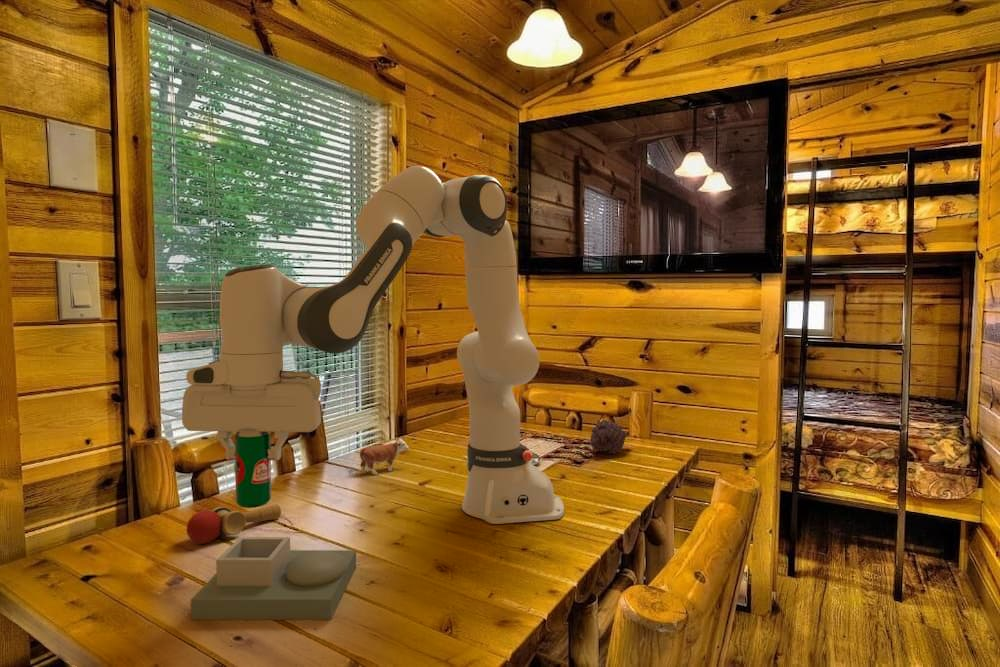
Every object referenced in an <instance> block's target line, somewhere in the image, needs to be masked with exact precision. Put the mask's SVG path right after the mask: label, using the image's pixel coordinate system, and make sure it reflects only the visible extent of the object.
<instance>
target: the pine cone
mask: <svg viewBox="0 0 1000 667" xmlns="http://www.w3.org/2000/svg"><path fill="white" fill-rule="evenodd" d="M629 435H630V431H627V430H623V428H622V427H621V426H620V425H618V423H616V422H613V421H612V420H606V419H604V420H602V421H601V422H599V421H598V422H596V424H595V427H593V428H592V429H591V434H590V438H589V440H590V441H589V443H590V445H591V447H592V448H593V450H596V451H599V452H605V453H608V454H616V453H617V452H618V453H620V452H621V451H622V449H623V447H624V445H625V440H626V438H627V437H629Z"/></svg>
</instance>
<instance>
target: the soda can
mask: <svg viewBox="0 0 1000 667" xmlns="http://www.w3.org/2000/svg"><path fill="white" fill-rule="evenodd" d="M271 436H272V432H259V431H258V430H239V431H236V433H235V435H234V443H235V444H234V445H235V460H234V461H235V462H234V463H235V464H234V467H235V473H234V474H235V503H236V504H237V505H238V506H239V507H240V508H245V509H253V508H259V507H263V506H265V505H267V504H268V503H269V502H270V501H271V498H272V460H268V449H269V448H270V447H272V446H271V445H272V444H271V443H272V441H271V439H272V438H271Z"/></svg>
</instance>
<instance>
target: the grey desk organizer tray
mask: <svg viewBox="0 0 1000 667" xmlns="http://www.w3.org/2000/svg"><path fill="white" fill-rule="evenodd" d="M215 562H216V564H215V566H216V570H215V571H216V573H215V574H214V575H212V577H211V578H210V579H209V580H208V581H207V582H206V583H205V584H204V585H203V586H202V587H201V589H199V590H198V591H197V593H195V595H194V596H192V597H191V598H190V618H191V620H192V621H193V620H195V621H196V620H198V621H199V620H202V621H203V620H206V621H207V620H208V621H209V620H210V621H211V620H212V621H213V620H215V621H216V620H217V621H218V620H220V621H221V620H226V621H227V620H228V621H229V620H231V621H232V620H233V621H235V620H236V621H237V620H243V621H245V620H246V621H248V620H252V621H253V620H255V621H258V620H259V621H260V620H261V621H262V620H267V621H268V620H269V621H271V620H274V621H275V620H277V621H279V620H280V621H281V620H282V621H283V620H284V621H285V620H286V621H287V620H288V621H290V620H292V621H293V620H295V621H297V620H299V621H300V620H302V621H303V620H309V621H310V620H313V621H316V620H317V621H319V620H320V621H325V620H326V621H327V620H332V618H333V617H334V615H335V613H336V610H337V608H338V606H339V605H340V602H341V600H342V598H343V597H344V596H343V595H344V593H345V591H346V589H347V587H348V585H349V583H350V581H351V579H352V577H353V575H354V573H355V571H356V569H357V550H354V549H353V550H350V549H349V550H348V549H346V550H345V549H344V550H339V549H338V550H337V549H336V550H331V549H330V550H328V549H327V550H326V549H325V550H321V549H320V550H319V549H318V550H314V549H309V550H307V549H306V550H303V549H302V550H301V549H299V550H298V549H296V550H295V549H293V550H292V549H291V537H289V536H239V537H238V538H237V539H236V540H235V541H234V542H233V543H232V544H231V545H229V547H228V548H226V550H225V551H224V552H223V553H222V554H221V555H219V557H218V558H217V559H215Z"/></svg>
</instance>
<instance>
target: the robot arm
mask: <svg viewBox="0 0 1000 667" xmlns="http://www.w3.org/2000/svg"><path fill="white" fill-rule="evenodd" d="M507 212H508V200H507V195H506V192H505V189H504V188H503V186H502V185H501V183H500V182H499V180H497V179H496V178H495V177H493V176H490V175H486V174H485V175H484V174H473V175H470V176H465V177H457V178H452V179H449V180H447V181H445V182H442V180H441V179H440V178H439V176H438V175H437V174H436V173H435V172H434V171H432V169H429V168H427V167H425V166H424V165H411V166H408V167H407V168H404V169H403V170H402V171H400V172H398V174H396V175H395V176H393V177H392V178H390V179H389V180H388V181H387V182H386V183H384V184H383V185H382V186H381V187H380V188H379V189H377V191H376V192H375V193H374V194H373V195H372V196H371V197H370V198H369V199H368V200H367V202H366V203H365V204H364V206H363V207H362V208H361V210H360V212H359V213H358V214H357V217H356V221H355V222H356V223H355V224H356V227H355V228H356V231H357V234H358V237H359V239H360V242H362V244H363V245H364V246H365V248H366V249H365V251H364V252H363V253H362V254H361V256H360V257H359V258H358V260H357V261H356V262H355V263H354V265H353V267H351V269H350V270H349V272H348V273H347V274H345V276H344V278H343V279H342V280H340V281H339V282H336V283H334V284H331V285H329V286H325V287H308V286H307V285H305V284H302V283H300V282H298V281H296V280H294V279H292V278H291V277H289V276H287V275H285V273H283V272H282V271H280V270H279V269H278V267H277V266H275V265H272V264H256V265H249V266H247V265H246V266H241V267H236V268H235V267H234V268H233V269H230V270H228V271H227V273H225V275H224V276H223V279H222V283H221V287H220V297H219V326H220V329H221V332H222V344H221V345H220V353H219V354H220V355H219V356H220V357H219V358H220V359H219V360H215V361H210V362H209V363H208V364H205V365H202V366H198V367H194V368H192V369H190V370H188V371H187V372H186V376H185V377H186V381H187V383H188V384H189V386H188V387H187V388H186V389H185V391H184V393H183V398H182V407H181V422H182V425H183V427H184V428H185V429H186V431H188V432H217V439H218V441H219V442H220V444H221V445H222V447H223V448H224V450H225V459H226V460H227V461H228V460H229V461H230V460H234V461H235V444H234V443H235V442H234V441H233V439H232V438H231V436H232V435H233V434H234V432H238V431H239V430H258V431H259V432H270V433H273V432H274V439H277V441H276V442H275V445H273V446H271V447H270V448H269V449H268V460H271V461H279V460H281V457H282V447H283V446H284V443H285V442H286V440H287V439H288V437H289V433H311V432H313V431H315V430H316V429H317V428H318V427H319V426H320V424H321V422H322V414H321V413H322V412H321V404H320V396H321V392H322V391H321V390H322V389H321V388H322V387H321V384H322V383H321V380H320V378H319V377H318V376H317V375H315V374H313V373H312V372H311V371H309V370H302V371H297V370H296V371H295V370H284V352H283V351H284V346H285V345H286V344H291V345H295V346H300V347H303V348H311V349H315V350H317V351H320V352H323V353H326V354H330V355H331V354H332V355H336V354H342V353H346V352H348V351H350V350H352V349H353V348H354V347H356V346H357V345H358V344H359V342H360V341H361V340H362V339H363V337H364V335H365V334H366V331H367V329H368V326H369V322H370V319H371V317H372V314H373V312H374V310H375V308H376V306H377V305H378V302H380V300H381V298H382V297H383V295H384V294H385V292H386V291H387V289H388V288H389V286H390V285H391V283H392V282H393V281H394V279H395V278H396V276H397V275H398V273H399V272H400V271H401V269H402V267H403V266H404V265H405V263H406V261H407V260H408V258H409V256H410V254H411V252H412V249H413V245H414V244H415V242H417V241H418V240H419V238H420V237H421V235H422V234H425V235H428V236H430V237H433V238H434V237H436V238H443V237H460V238H461V240H462V243H463V245H464V248H465V249H464V273H465V286H466V290H465V291H466V302H467V304H466V305H467V307H468V309H469V311H470V313H471V314H472V316H473V320H474V323H475V326H476V329H477V331H473V332H471V333H468V334H466V335H465V336H464V337H463V338H462V339H461V340H460V341H459V343H458V345H457V348H456V349H457V350H456V358H457V361H458V363H459V365H460V367H461V368H460V369H461V370H462V375H463V379H464V384H465V392H466V395H467V401H468V407H469V443H468V445H467V450H466V467H467V471H468V473H467V481H466V488H465V493H464V498H463V500H462V504H461V510H462V511H463V512H464V513H465V514H467V515H469V516H472V517H474V518H478V519H481V520H483V521H485V522H487V523H488V524H492V525H499V524H513V523H524V522H525V523H526V522H527V523H528V522H538V521H539V522H541V521H552V520H553V521H554V520H559V519H561V518H562V517H563V516H564V514H565V505H564V502H563V500H562V498H561V497H559V496H557V494H555V493H554V486H553V484H552V481H551V479H550V478H549V476H548V475H547V474H546V473H544V472H543V471H542V470H541V469H539V468H538V467H537V466H535V465H534V464H532V463H531V461H532V459H533V453H532V452H531V450H530V449H529V448H528V447H527V445H526V444H524V445H523V444H522V443H521V442H520V441H521V410H520V407H519V403H517V401H516V398H515V395H514V392H513V388H512V387H517V386H523V385H527V383H529V382H530V381H532V380H533V379H534V378H535V377H536V375H537V373H538V372H539V371H538V370H539V368H540V361H541V360H540V354H539V351H538V350H537V347H536V346H535V345H534V343H533V342H532V340H531V338H530V337H529V333H528V331H527V328H526V324H525V321H524V318H523V314H522V310H521V306H520V299H519V298H520V297H519V287H518V272H517V269H518V268H517V255H516V254H517V253H516V248H515V241H514V237H513V232H512V228H511V224H510V223H509V221H508V220H507Z"/></svg>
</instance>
